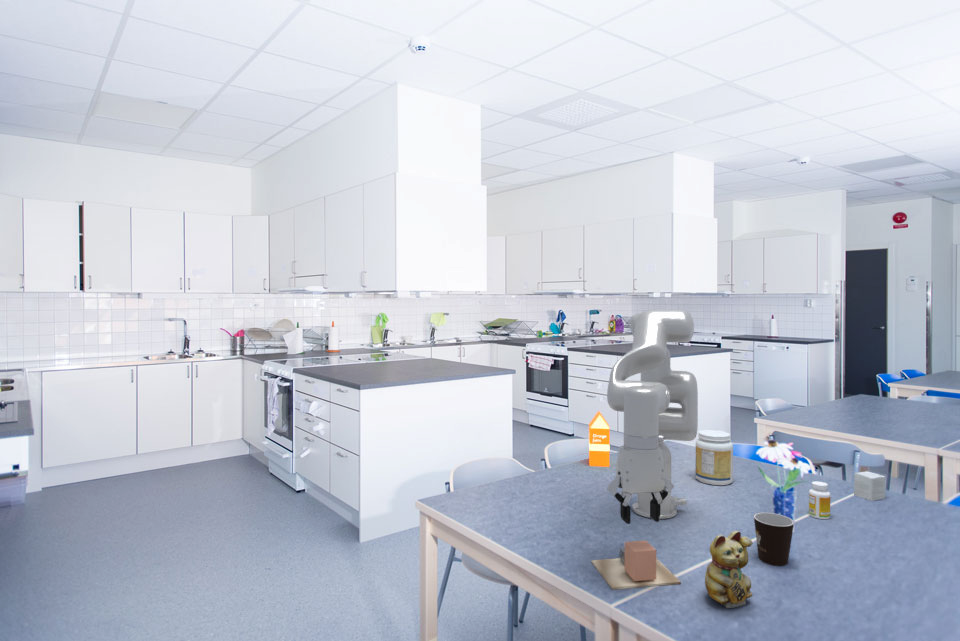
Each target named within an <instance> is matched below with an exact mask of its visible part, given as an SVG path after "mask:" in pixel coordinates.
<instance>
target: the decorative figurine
mask: <svg viewBox="0 0 960 641" xmlns="http://www.w3.org/2000/svg"><path fill="white" fill-rule="evenodd" d="M741 534H742V532H741V531H739V530H732V531H731V532H730V533H729V534H728V536H727V537H726V536H725V535H723V534H718V535H717V536H715V537H714V539H713V540H712V541H711V544H710V545H709V553H710V556H711V562H709V563H708V564H707V566H706V571H705V576H704V584H705V589H706V592H707V594H708V596H709V597H710V598H711V599H713V600H714V601H716V602H717V603H719V604H720V605H722V606H723V607H725V608H726V609H730V608H731V609H732V608H733V609H734V608H737V607H742V606H745V605H746V604H747V602H746V600H747V599H750V598H751V597H753V592H752V591H751V588H752V581H751V578H750V576H748V575H747V574H744V573H743V572H742V570H741V569H743V568H746V566H747V565H748V563H749V557H750V556H749V553H748V549H747V548H750V547H752V546H753V543H754V542H753V540H752V539H751V538H749V537H748V536H741Z"/></svg>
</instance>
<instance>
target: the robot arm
mask: <svg viewBox="0 0 960 641" xmlns="http://www.w3.org/2000/svg"><path fill="white" fill-rule="evenodd" d="M693 319H694V318H693V316H692V315H691V313H690V312H689V311H687V310H683V309H680V310H678V309H650V310H645V311H642V312H640V313H636V314H634V315H632V316H631V318H630V321H629V326H630V331H631V334H632V337H633V338H632V345H631V350H629V351H628V352H627V353H625V354H623V356H621V357H620V358H619V359H618V360H617V361H616V362H615V364H614V365H613V366H612V367H611V368H612V369H610V370H611V371H610V374H609V379H608V384H607V393H606V399H607V404H608V406H609V407H610V409H612V410H613V411H617V412H622V413H623V445H620V446H619V449H618V454H617V460H616V470H615V478H614V479H613V480H612V481H611V483H609V484H608V486H607V487H606V490H607V491H608V492H609V493H610V494H611V495H612V496H613V497H614V498H615V499H616V500H617V501H618V502H619V503H620V507H619V508H620V509H619V510H620V511H619V512H620V518H621V520H623V522H625V524H627V525H629V524H631V516H632V515H631V513H632V512H631V511H632V510H633V512H634V513H635V514H636V515H639V516H641V517H645V518H647V519H652V520H653V521H654V522H656V523H659V522H660V520H662V519H663V520H665V519H671V518H674V517H675V516H676V515H677V513H678V512H677V510H678V509H677V508H676V507H678V506H686V505H687V504H688V503H687V501H688V500H687V498H685V497H684V498H679V497H678V496H672V490H673V489H674V487H675V486H674V484H673V482H672V453H671V450H670V448H669V447H668V446H667V444H665V442H664V440H668V441H680V442H681V441H682V442H691V441H694V440H695V439H696V437H697V436H698V426H699V425H698V424H699V423H698V421H699V418H698V417H699V414H698V412H699V411H698V410H699V406H698V405H699V404H698V402H699V400H698V399H699V398H698V397H699V396H698V395H699V392H698V390H699V389H698V380H697V378H696V376H695V374H693V373H692V372H690V371H687V370H672V368H671V352H670V350H669V349H668V347H667V345H668V344H667V343H680V344H683V343H690V341H691V340H692V339H693V338H694V333H695V323H694V320H693ZM638 374H640V380H628V378H630V377H632V376H635V375H638ZM670 404H678V405H680V407H671V406H670ZM617 488H619V489H621V491H620V493H619V492H618V491H617ZM632 495H637V501H636V502H634V503H633V504H632V510H631V506H630V504H629V503H630V501H631V498H632Z"/></svg>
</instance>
